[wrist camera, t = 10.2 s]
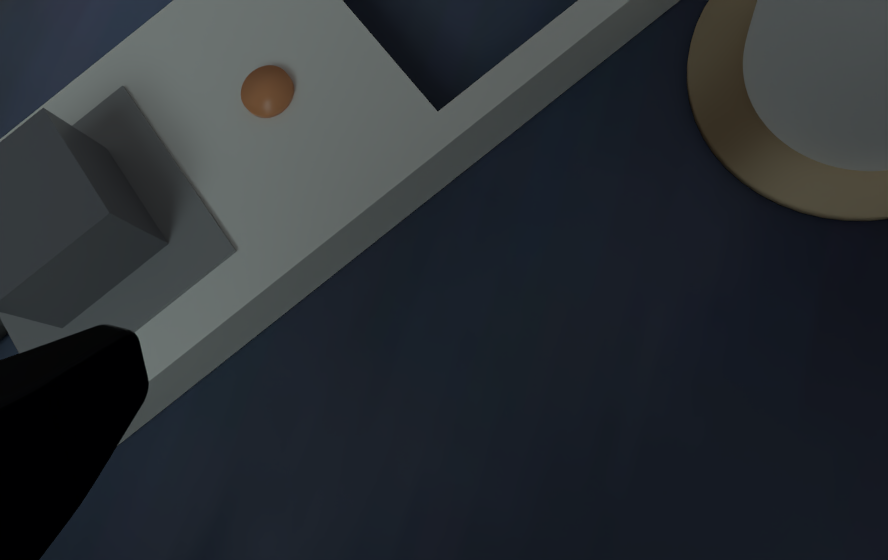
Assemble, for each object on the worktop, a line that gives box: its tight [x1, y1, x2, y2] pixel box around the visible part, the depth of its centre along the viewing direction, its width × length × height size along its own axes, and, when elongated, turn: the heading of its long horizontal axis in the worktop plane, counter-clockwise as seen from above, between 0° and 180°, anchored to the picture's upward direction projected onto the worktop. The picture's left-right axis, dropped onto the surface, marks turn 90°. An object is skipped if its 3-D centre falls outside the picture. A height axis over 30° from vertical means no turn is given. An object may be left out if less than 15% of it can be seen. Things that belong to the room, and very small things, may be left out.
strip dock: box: [0, 0, 680, 446], centre depth 25 cm, size 10×24×2 cm, turn 127°
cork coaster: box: [687, 0, 888, 221], centre depth 22 cm, size 9×9×1 cm
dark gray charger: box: [0, 108, 169, 328], centre depth 22 cm, size 4×4×3 cm
